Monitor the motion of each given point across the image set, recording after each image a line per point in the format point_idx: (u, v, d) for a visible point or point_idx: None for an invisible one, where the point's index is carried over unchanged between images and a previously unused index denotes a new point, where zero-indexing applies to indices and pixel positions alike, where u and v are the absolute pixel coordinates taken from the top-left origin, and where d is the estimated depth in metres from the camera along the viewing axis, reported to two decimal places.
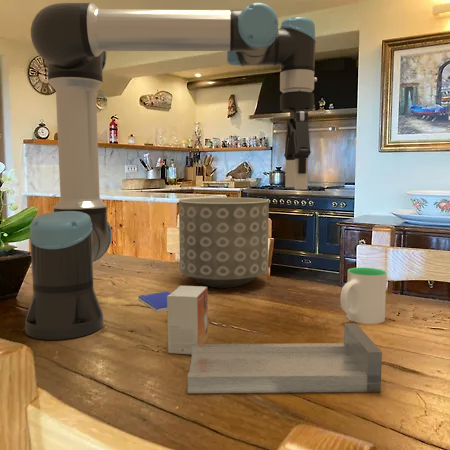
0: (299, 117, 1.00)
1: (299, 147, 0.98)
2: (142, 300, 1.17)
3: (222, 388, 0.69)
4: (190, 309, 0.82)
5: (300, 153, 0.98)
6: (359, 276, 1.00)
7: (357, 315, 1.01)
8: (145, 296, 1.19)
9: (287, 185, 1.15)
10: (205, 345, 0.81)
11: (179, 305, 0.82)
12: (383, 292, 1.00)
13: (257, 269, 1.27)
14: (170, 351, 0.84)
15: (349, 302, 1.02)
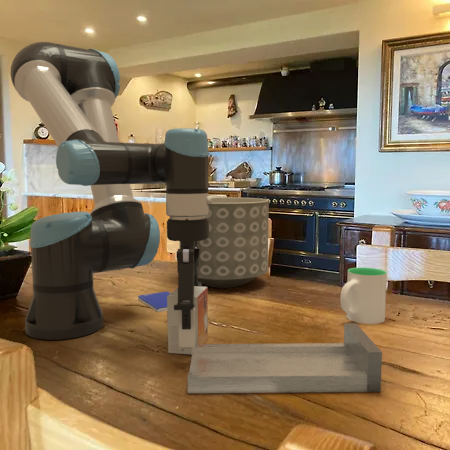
0: (182, 258, 0.78)
1: (179, 300, 0.76)
2: (142, 300, 1.17)
3: (222, 388, 0.69)
4: None
5: (180, 307, 0.76)
6: (359, 276, 1.00)
7: (357, 315, 1.01)
8: (145, 296, 1.19)
9: None
10: (205, 345, 0.81)
11: None
12: (383, 292, 1.00)
13: (257, 269, 1.27)
14: (170, 351, 0.84)
15: (349, 302, 1.02)
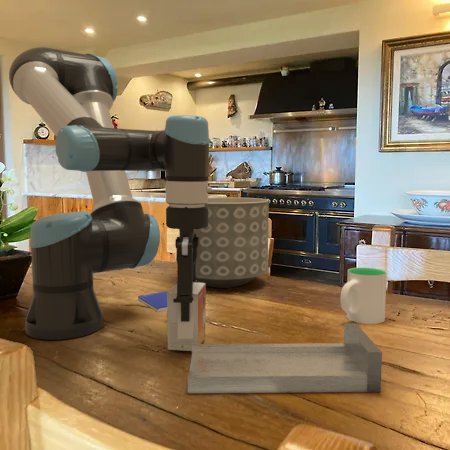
0: (181, 252, 0.78)
1: (178, 294, 0.78)
2: (142, 300, 1.17)
3: (222, 388, 0.69)
4: None
5: (180, 300, 0.78)
6: (359, 276, 1.00)
7: (357, 315, 1.01)
8: (145, 296, 1.19)
9: None
10: (205, 345, 0.81)
11: None
12: (383, 292, 1.00)
13: (257, 269, 1.27)
14: (169, 348, 0.84)
15: (349, 302, 1.02)
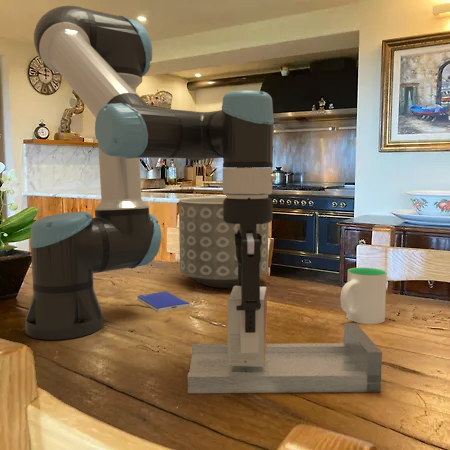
0: (246, 250, 0.66)
1: (244, 300, 0.66)
2: (141, 300, 1.17)
3: (222, 388, 0.69)
4: None
5: (246, 308, 0.66)
6: (359, 276, 1.00)
7: (357, 315, 1.01)
8: (144, 295, 1.19)
9: None
10: (205, 345, 0.81)
11: None
12: (383, 292, 1.00)
13: None
14: (230, 363, 0.71)
15: (349, 302, 1.02)
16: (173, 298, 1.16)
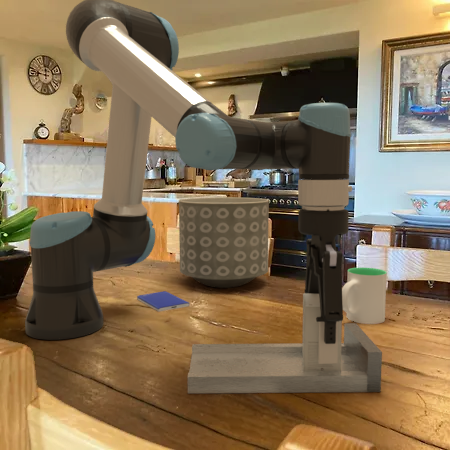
0: (329, 262, 0.67)
1: (327, 312, 0.66)
2: (141, 300, 1.17)
3: (222, 388, 0.69)
4: None
5: (328, 319, 0.67)
6: (359, 276, 1.00)
7: (357, 315, 1.01)
8: (144, 296, 1.19)
9: None
10: (205, 345, 0.81)
11: None
12: (383, 292, 1.00)
13: (257, 269, 1.27)
14: (306, 371, 0.72)
15: (349, 302, 1.02)
16: (173, 298, 1.17)
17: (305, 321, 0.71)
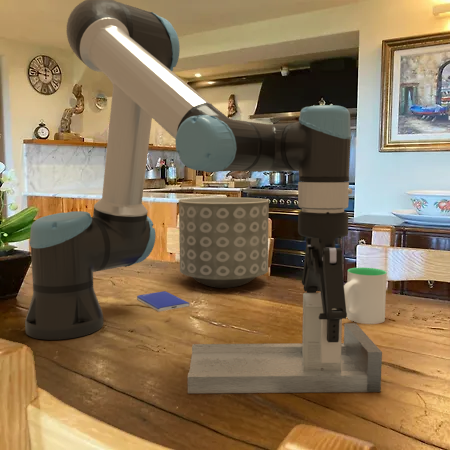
0: (329, 258, 0.66)
1: (330, 308, 0.64)
2: (141, 300, 1.17)
3: (222, 388, 0.69)
4: None
5: (331, 317, 0.64)
6: (359, 276, 1.00)
7: (357, 315, 1.01)
8: (144, 295, 1.19)
9: None
10: (205, 345, 0.81)
11: None
12: (383, 292, 1.00)
13: (257, 269, 1.27)
14: (306, 371, 0.72)
15: (349, 302, 1.02)
16: (173, 298, 1.17)
17: (305, 321, 0.71)
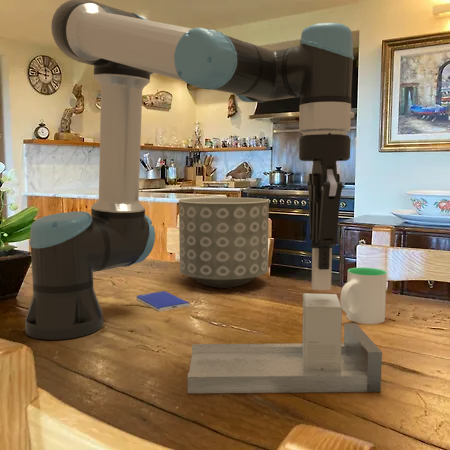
0: (328, 193, 0.67)
1: (321, 239, 0.69)
2: (141, 300, 1.17)
3: (222, 388, 0.69)
4: (333, 321, 0.70)
5: (322, 244, 0.70)
6: (359, 276, 1.00)
7: (357, 315, 1.01)
8: (143, 295, 1.19)
9: None
10: (205, 345, 0.81)
11: (320, 317, 0.71)
12: (383, 292, 1.00)
13: (257, 269, 1.27)
14: (306, 371, 0.72)
15: (349, 302, 1.02)
16: (173, 298, 1.17)
17: (305, 321, 0.71)
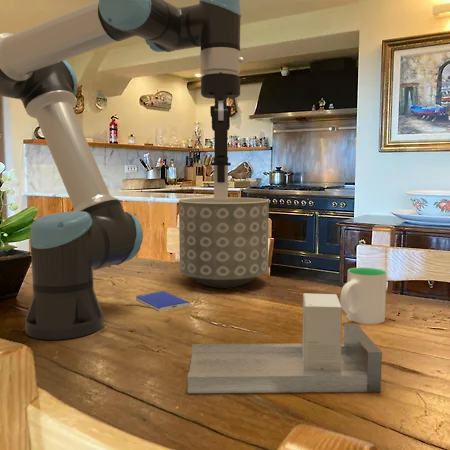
0: (217, 118, 0.86)
1: (215, 155, 0.88)
2: (141, 300, 1.17)
3: (222, 388, 0.69)
4: (333, 321, 0.70)
5: (217, 160, 0.89)
6: (359, 276, 1.00)
7: (357, 315, 1.01)
8: (143, 296, 1.19)
9: None
10: (205, 345, 0.81)
11: (320, 317, 0.71)
12: (383, 292, 1.00)
13: (257, 269, 1.27)
14: (306, 371, 0.72)
15: (349, 302, 1.02)
16: (172, 297, 1.17)
17: (305, 321, 0.71)
